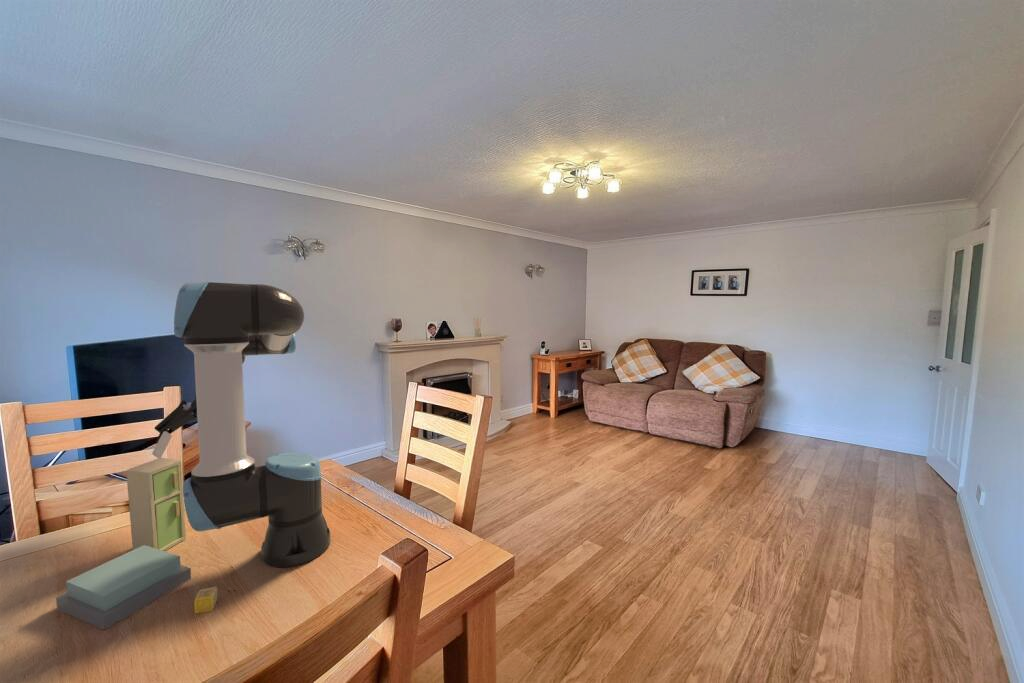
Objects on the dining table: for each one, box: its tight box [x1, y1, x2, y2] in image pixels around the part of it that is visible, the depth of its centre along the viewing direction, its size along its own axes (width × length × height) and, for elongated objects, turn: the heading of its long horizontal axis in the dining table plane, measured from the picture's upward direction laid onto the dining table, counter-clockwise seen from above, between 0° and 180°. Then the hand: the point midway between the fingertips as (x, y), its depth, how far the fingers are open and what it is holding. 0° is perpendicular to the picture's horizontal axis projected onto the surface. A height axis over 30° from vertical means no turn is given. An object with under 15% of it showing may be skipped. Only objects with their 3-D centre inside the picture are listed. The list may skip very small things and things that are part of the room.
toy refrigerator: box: [125, 457, 187, 552], centre depth 100 cm, size 8×7×21 cm
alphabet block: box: [193, 586, 218, 614], centre depth 81 cm, size 3×3×3 cm
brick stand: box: [55, 545, 192, 630], centre depth 84 cm, size 15×15×6 cm
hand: (183, 455), depth 109 cm, fingers open, 13 cm apart
